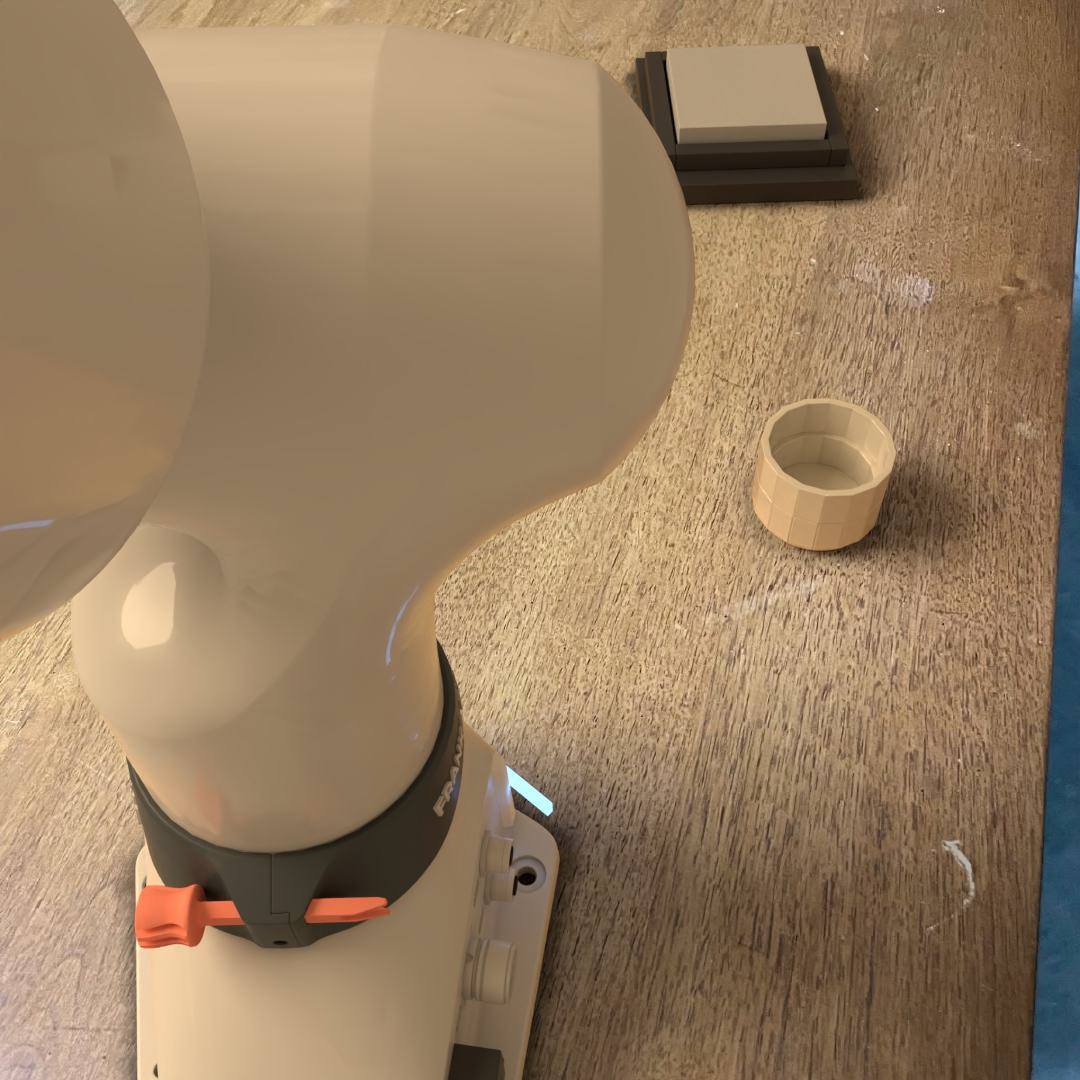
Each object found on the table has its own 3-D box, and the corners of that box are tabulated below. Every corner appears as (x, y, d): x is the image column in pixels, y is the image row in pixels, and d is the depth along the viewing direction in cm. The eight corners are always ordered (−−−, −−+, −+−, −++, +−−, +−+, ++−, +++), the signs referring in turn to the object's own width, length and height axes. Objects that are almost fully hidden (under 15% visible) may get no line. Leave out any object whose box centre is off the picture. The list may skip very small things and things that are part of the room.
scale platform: (823, 142, 83) (827, 122, 81) (677, 147, 83) (679, 127, 82) (801, 62, 89) (804, 43, 88) (665, 67, 89) (667, 47, 88)
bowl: (887, 553, 64) (907, 493, 60) (759, 557, 64) (771, 497, 60) (864, 458, 68) (881, 396, 64) (744, 462, 68) (754, 400, 64)
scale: (854, 199, 83) (862, 161, 80) (650, 206, 83) (652, 168, 81) (817, 70, 93) (823, 34, 90) (634, 76, 93) (636, 40, 90)
